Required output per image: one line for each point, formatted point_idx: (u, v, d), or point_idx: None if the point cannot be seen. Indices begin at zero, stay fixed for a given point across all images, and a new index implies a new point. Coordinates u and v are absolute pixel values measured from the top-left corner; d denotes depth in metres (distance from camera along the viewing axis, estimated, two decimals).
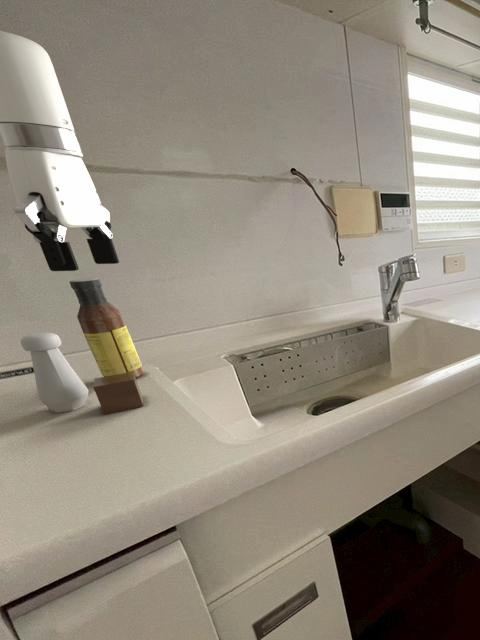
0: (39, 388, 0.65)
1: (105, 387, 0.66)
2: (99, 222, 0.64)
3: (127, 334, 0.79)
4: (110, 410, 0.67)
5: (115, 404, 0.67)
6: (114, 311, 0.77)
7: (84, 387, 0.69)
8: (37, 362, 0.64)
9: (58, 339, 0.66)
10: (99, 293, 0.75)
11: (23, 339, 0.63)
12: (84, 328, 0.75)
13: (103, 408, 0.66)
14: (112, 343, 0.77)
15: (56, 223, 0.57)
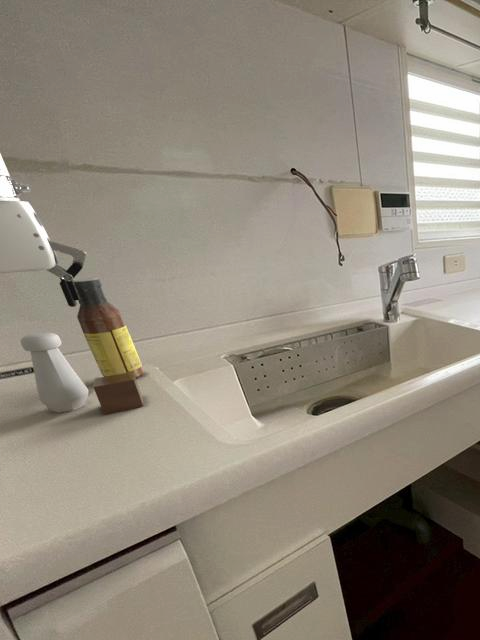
0: (39, 388, 0.65)
1: (105, 387, 0.66)
2: (34, 266, 0.61)
3: (127, 334, 0.79)
4: (110, 410, 0.67)
5: (115, 404, 0.67)
6: (114, 311, 0.77)
7: (84, 387, 0.69)
8: (37, 362, 0.64)
9: (58, 339, 0.66)
10: (99, 293, 0.75)
11: (23, 339, 0.63)
12: (84, 328, 0.75)
13: (103, 408, 0.66)
14: (112, 343, 0.77)
15: None
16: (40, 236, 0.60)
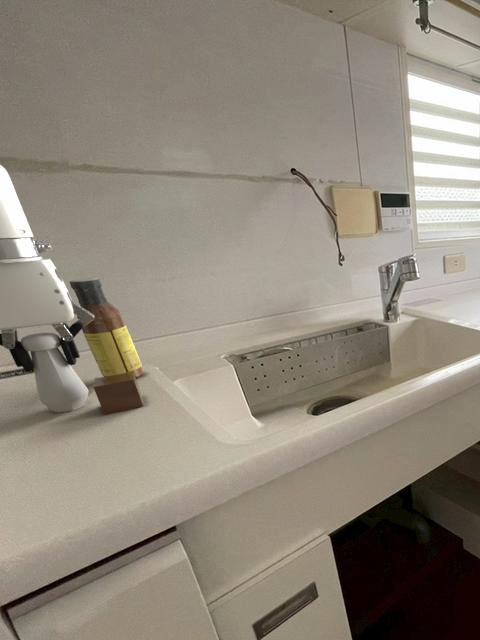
0: (39, 388, 0.65)
1: (105, 387, 0.66)
2: (55, 320, 0.64)
3: (127, 334, 0.79)
4: (110, 410, 0.67)
5: (115, 404, 0.67)
6: (114, 311, 0.77)
7: (84, 387, 0.69)
8: (37, 362, 0.64)
9: (58, 339, 0.66)
10: (99, 293, 0.75)
11: (23, 339, 0.63)
12: (84, 328, 0.75)
13: (103, 408, 0.66)
14: (112, 343, 0.77)
15: None
16: (61, 292, 0.63)
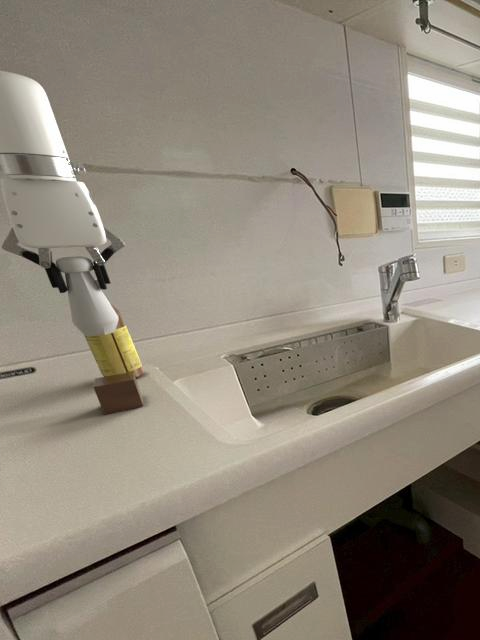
0: (73, 310, 0.67)
1: (105, 387, 0.66)
2: (88, 242, 0.66)
3: (127, 334, 0.79)
4: (110, 410, 0.67)
5: (115, 404, 0.67)
6: None
7: (115, 313, 0.71)
8: (71, 284, 0.66)
9: (91, 263, 0.68)
10: None
11: (58, 260, 0.65)
12: None
13: (103, 408, 0.66)
14: (112, 343, 0.77)
15: None
16: (94, 214, 0.65)
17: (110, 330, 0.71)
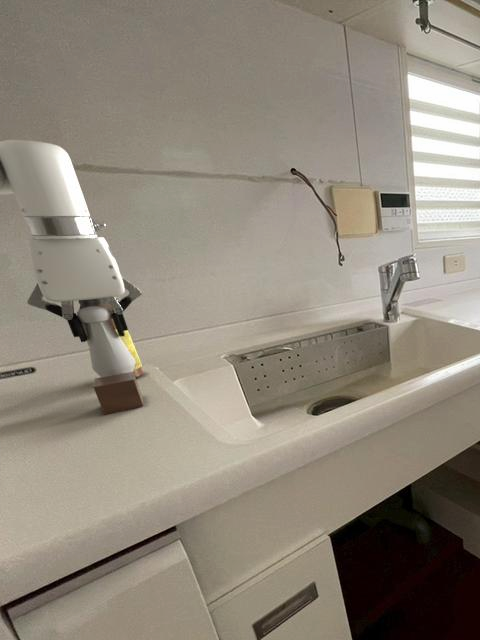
0: (93, 357, 0.71)
1: (105, 387, 0.66)
2: (108, 294, 0.69)
3: (127, 334, 0.79)
4: (110, 410, 0.67)
5: (115, 404, 0.67)
6: None
7: (132, 358, 0.75)
8: (92, 333, 0.70)
9: (110, 312, 0.71)
10: None
11: (80, 311, 0.68)
12: (84, 328, 0.75)
13: (103, 408, 0.66)
14: None
15: None
16: (114, 267, 0.69)
17: None
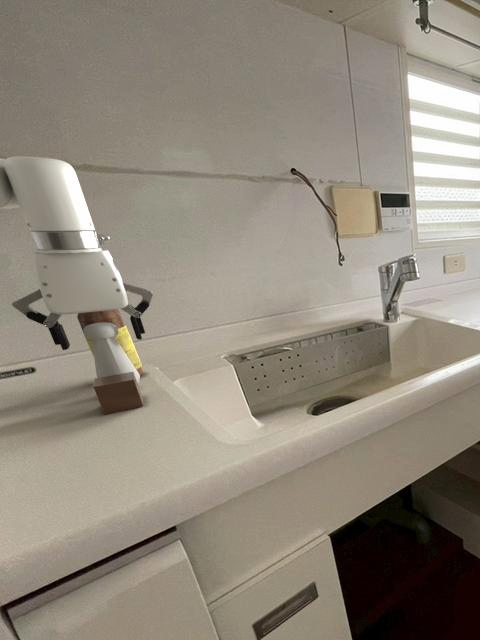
0: (98, 373, 0.72)
1: (105, 387, 0.66)
2: (111, 306, 0.70)
3: (127, 334, 0.79)
4: (110, 410, 0.67)
5: (115, 404, 0.67)
6: (114, 311, 0.77)
7: (137, 373, 0.76)
8: (98, 349, 0.71)
9: (116, 328, 0.72)
10: None
11: (86, 328, 0.69)
12: None
13: (103, 408, 0.66)
14: None
15: None
16: (117, 280, 0.69)
17: None
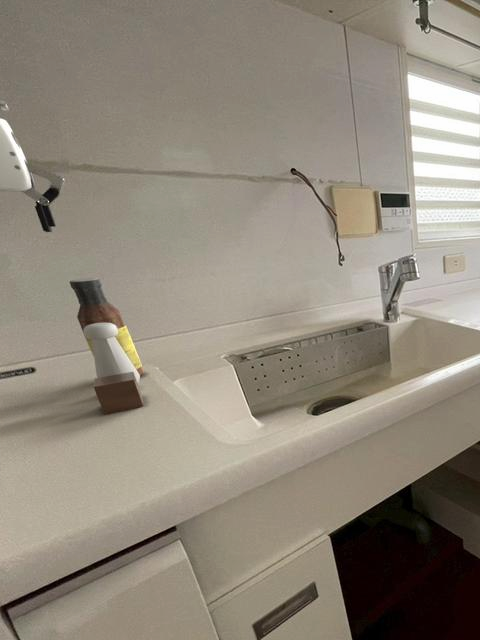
0: (98, 373, 0.72)
1: (105, 387, 0.66)
2: (9, 186, 0.60)
3: (127, 334, 0.79)
4: (110, 410, 0.67)
5: (115, 404, 0.67)
6: (114, 311, 0.77)
7: (137, 373, 0.76)
8: (98, 349, 0.71)
9: (116, 328, 0.72)
10: (99, 293, 0.75)
11: (86, 328, 0.69)
12: None
13: (103, 408, 0.66)
14: None
15: None
16: (17, 155, 0.60)
17: None
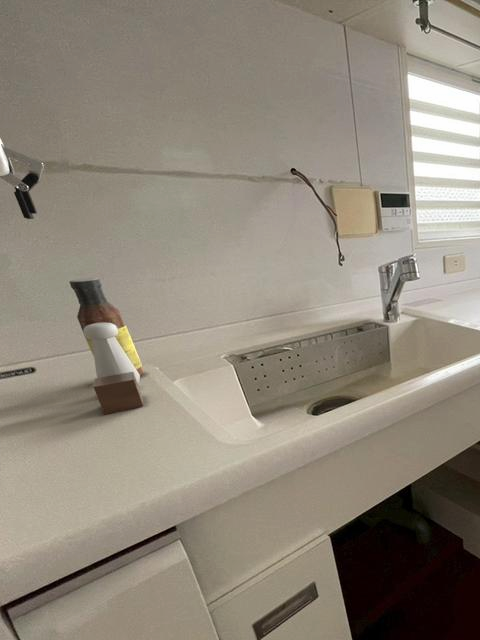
0: (98, 373, 0.72)
1: (105, 387, 0.66)
2: None
3: (127, 334, 0.79)
4: (110, 410, 0.67)
5: (115, 404, 0.67)
6: (114, 311, 0.77)
7: (137, 373, 0.76)
8: (98, 349, 0.71)
9: (116, 328, 0.72)
10: (99, 293, 0.75)
11: (86, 328, 0.69)
12: None
13: (103, 408, 0.66)
14: None
15: None
16: None
17: None
